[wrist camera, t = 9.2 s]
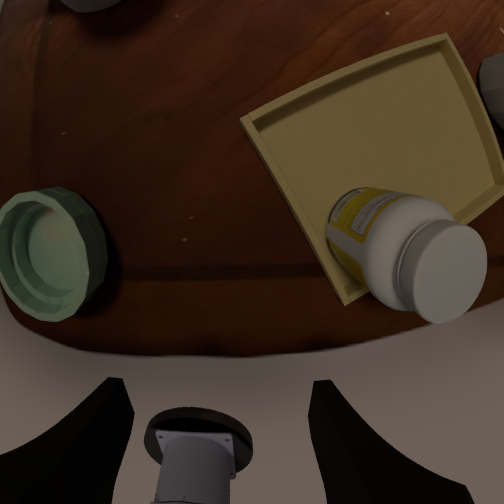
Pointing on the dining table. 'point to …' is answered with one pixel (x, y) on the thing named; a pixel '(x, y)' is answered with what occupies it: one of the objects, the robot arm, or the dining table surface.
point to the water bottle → (493, 86)
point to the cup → (89, 4)
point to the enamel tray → (380, 141)
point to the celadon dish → (51, 252)
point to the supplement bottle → (407, 252)
